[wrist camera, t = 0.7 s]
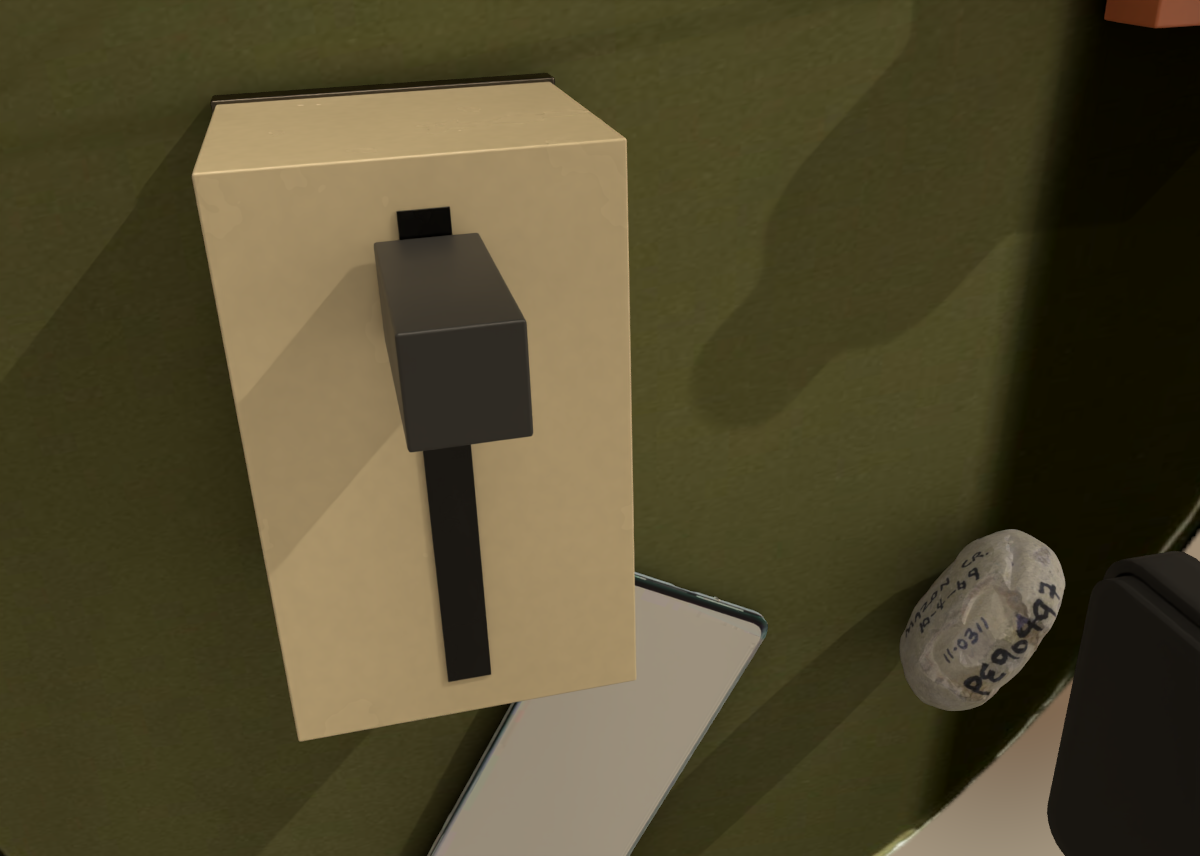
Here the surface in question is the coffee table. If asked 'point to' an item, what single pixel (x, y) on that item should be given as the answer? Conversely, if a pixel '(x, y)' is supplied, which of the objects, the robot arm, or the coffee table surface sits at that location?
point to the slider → (453, 342)
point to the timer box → (1154, 12)
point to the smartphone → (606, 738)
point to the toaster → (370, 408)
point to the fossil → (981, 620)
